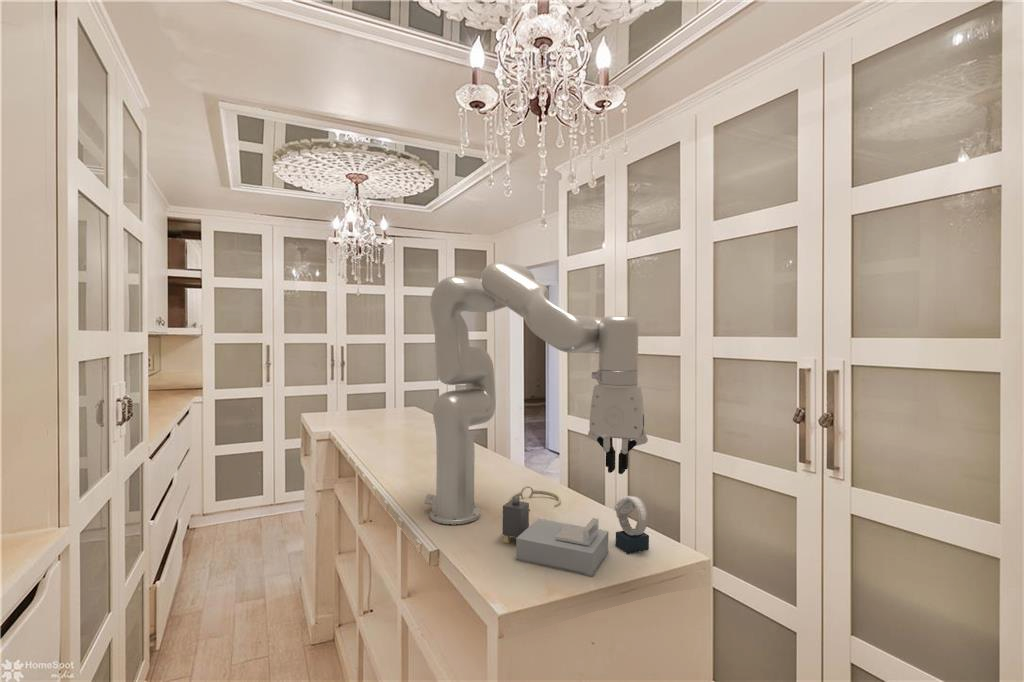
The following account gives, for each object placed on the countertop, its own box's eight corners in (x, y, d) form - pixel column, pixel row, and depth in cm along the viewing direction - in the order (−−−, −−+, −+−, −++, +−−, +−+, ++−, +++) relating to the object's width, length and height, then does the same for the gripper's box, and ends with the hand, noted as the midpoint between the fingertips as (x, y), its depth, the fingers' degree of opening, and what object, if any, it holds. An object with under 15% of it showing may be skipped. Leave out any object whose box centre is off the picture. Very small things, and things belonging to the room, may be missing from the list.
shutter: (555, 539, 102) (555, 524, 102) (566, 527, 108) (566, 513, 108) (588, 545, 99) (588, 530, 99) (598, 533, 105) (598, 518, 105)
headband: (518, 505, 129) (502, 489, 138) (517, 519, 130) (501, 502, 139) (567, 498, 135) (549, 482, 144) (566, 511, 136) (548, 495, 145)
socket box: (516, 560, 103) (516, 538, 103) (538, 538, 114) (538, 518, 113) (592, 576, 96) (592, 553, 96) (608, 552, 107) (608, 531, 107)
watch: (630, 538, 114) (631, 490, 114) (654, 553, 107) (654, 501, 106) (610, 542, 112) (610, 493, 111) (632, 557, 104) (633, 504, 104)
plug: (502, 542, 111) (502, 498, 111) (510, 535, 115) (511, 492, 115) (520, 546, 109) (521, 501, 109) (528, 539, 113) (529, 495, 113)
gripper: (574, 378, 99) (573, 471, 100) (655, 382, 93) (653, 482, 93) (585, 375, 106) (584, 462, 106) (661, 379, 99) (660, 472, 100)
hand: (616, 471), depth 100 cm, fingers closed
